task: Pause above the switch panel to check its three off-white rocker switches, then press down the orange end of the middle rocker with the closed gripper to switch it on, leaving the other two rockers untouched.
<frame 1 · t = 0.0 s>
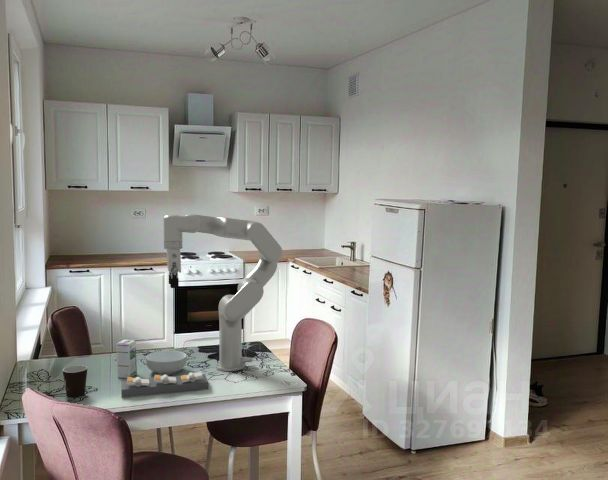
hand: (173, 285, 237), 37 cm above the table, tool pointing down, fingers open, 9 cm apart
middle rocker: (165, 379, 217), point 5 cm above the table, hinge at -10.0°
rocker 2: (191, 377, 220), point 4 cm above the table, hinge at 10.0°
rocker 1: (138, 381, 215), point 5 cm above the table, hinge at -10.0°
switch panel: (165, 389, 220), on the table
syrup box: (127, 376, 235), on the table
cereal bowl: (166, 372, 240), on the table
coffee mug: (77, 393, 214), on the table
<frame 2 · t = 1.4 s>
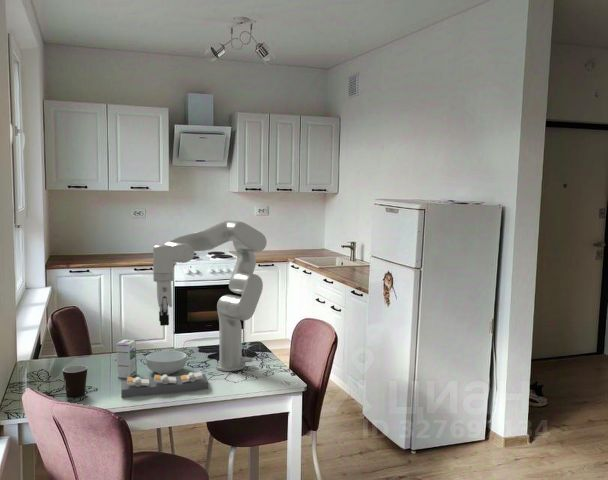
hand: (164, 322, 219), 26 cm above the table, tool pointing down, fingers open, 5 cm apart
nothing on the table moved.
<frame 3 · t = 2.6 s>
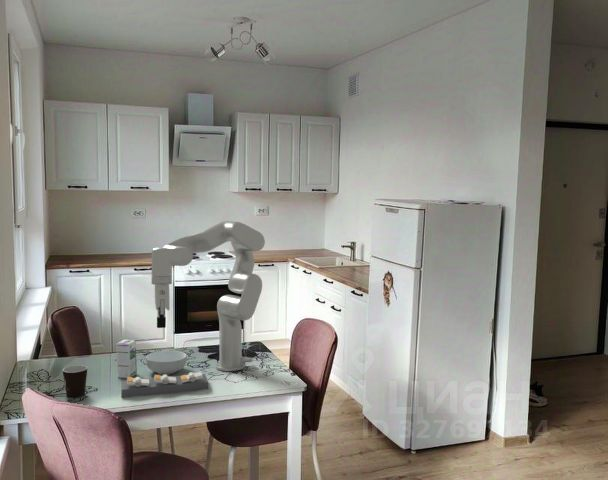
hand: (161, 327, 218), 24 cm above the table, tool pointing down, fingers closed
nothing on the table moved.
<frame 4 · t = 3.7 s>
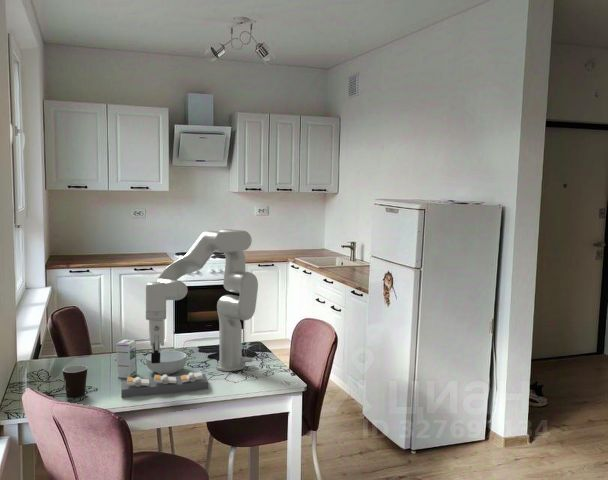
hand: (155, 362, 215), 11 cm above the table, tool pointing down, fingers closed
nothing on the table moved.
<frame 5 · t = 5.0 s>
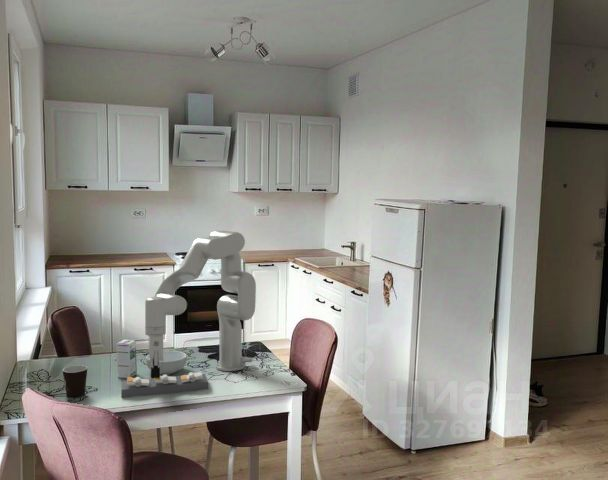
hand: (155, 377, 216), 6 cm above the table, tool pointing down, fingers closed
middle rocker: (165, 379, 217), point 5 cm above the table, hinge at -7.8°, touching gripper
everything else where it was.
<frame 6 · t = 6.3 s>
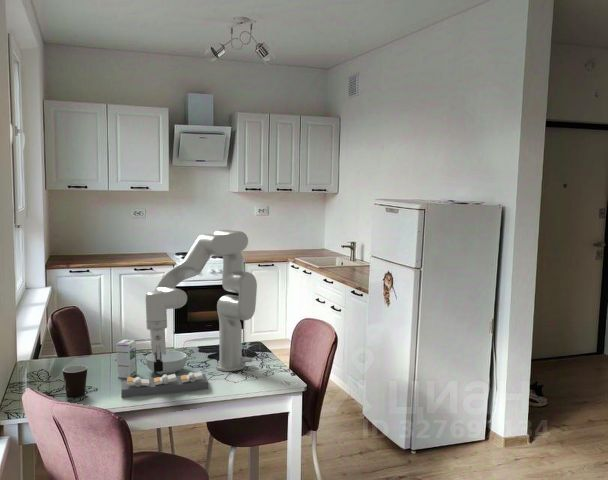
hand: (158, 370, 217), 8 cm above the table, tool pointing down, fingers closed
middle rocker: (165, 379, 217), point 5 cm above the table, hinge at 10.2°
everything else where it was.
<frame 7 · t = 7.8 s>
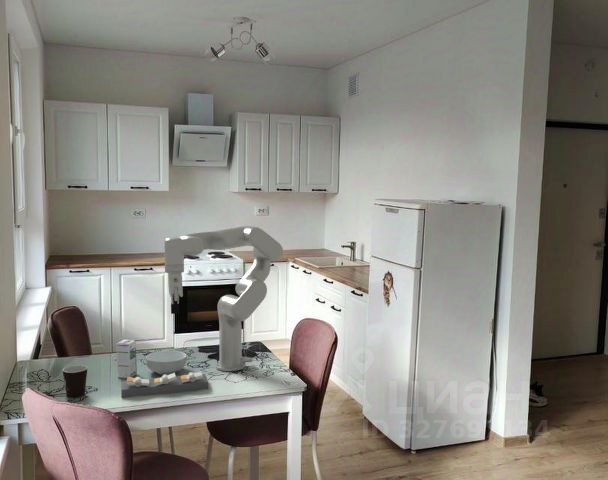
hand: (175, 313, 230), 27 cm above the table, tool pointing down, fingers closed
middle rocker: (165, 379, 217), point 5 cm above the table, hinge at 15.7°, touching switch panel
everything else where it was.
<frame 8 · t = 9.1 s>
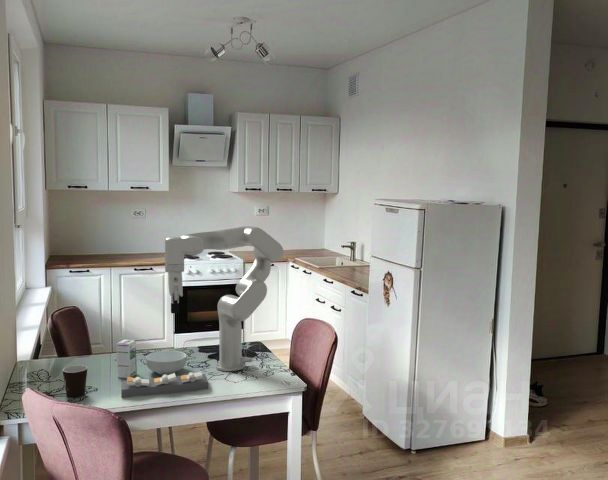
hand: (175, 312, 230), 27 cm above the table, tool pointing down, fingers closed
middle rocker: (165, 379, 217), point 5 cm above the table, hinge at 14.3°
everything else where it was.
at the end: middle rocker at +14° (first picture: -10°); rocker 2 at +10° (first picture: +10°); rocker 1 at -10° (first picture: -10°) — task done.
